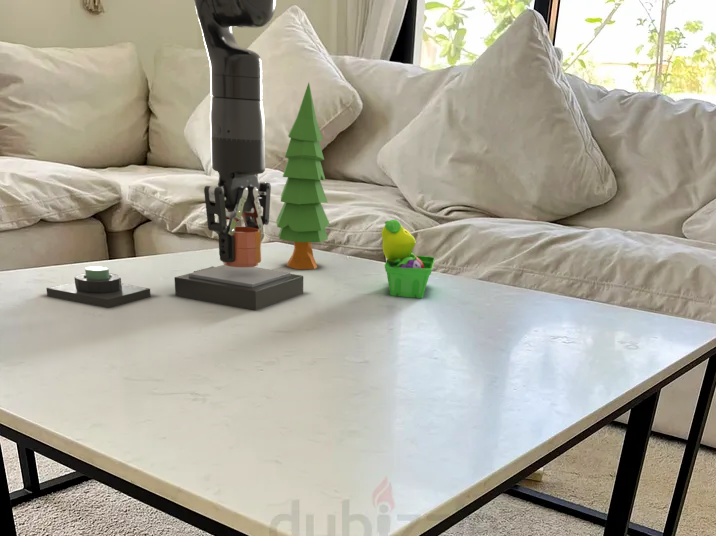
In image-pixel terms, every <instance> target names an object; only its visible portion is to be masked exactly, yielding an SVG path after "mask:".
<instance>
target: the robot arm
mask: <svg viewBox="0 0 716 536" xmlns="http://www.w3.org/2000/svg"><path fill="white" fill-rule="evenodd" d="M194 7H195V11H196V15H197V19H198V22H199V26H200V29H201V33H202V36H203V37H202V38H203V42H204V46H205V49H206V53H207V57H208V61H209V74H210V110H209V111H210V112H209V124H210V125H209V126H210V127H209V128H210V153H211V157H210V159H211V168H212V169H213V171H215V172H217V173H218V181H217V183H216V184H217V185H215V186H211V185H205V186H204V188H203V194H204V202H205V214H206V221H207V229H208V230H209V231H212V232H215V233H216V234H217V236H218V255H219V260H221V261H220V262H222V261H223V262H229V263H231V262H234V261H235V236H233V235H234V232H235V228H236V226H237V223H238V222H239V221H240V220H241V219H242V220H243V224H244V227H253V228H258V229H260V230H261V231H262V230H263V228H264V225H266V226H268V225H269V223H270V213H271V192H272V185H271V183H270V182H266V181H261V180H259V176H258V175H259V174H260V175H261V174H264V172H265V171H266V121H265V120H266V117H265V111H264V101H263V100H264V89H263V88H264V87H263V82H264V81H263V78H264V77H263V76H264V72H263V62H262V58H261V56H260V54H259V53H257V52H256V51H253V50H251V49H248V48H246V47H242V46H240V45H239V44H238V42H237V40H236V37H235V34H234V31H233V28H241V29H242V28H244V29H245V28H246V29H259V28H263V27H265V26H266V25H268V24H269V23H270V22H271V21H272V20H273V17H274V15H275V12H276V7H277V0H194ZM261 214H262V215H261ZM216 216H217V221H216V218H215V217H216ZM227 221H228V223H227ZM223 262H222V263H223Z"/></svg>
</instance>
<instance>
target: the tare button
mask: <svg viewBox="0 0 716 536" xmlns="http://www.w3.org/2000/svg"><path fill="white" fill-rule="evenodd" d="M84 272H85V273H86V279H91V280H105V279H110V276H109V273H110V268H109V267H106V266H101V265H100V266H97V265H96V266H95V265H94V266H87V267H85V268H84Z"/></svg>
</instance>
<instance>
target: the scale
mask: <svg viewBox="0 0 716 536" xmlns="http://www.w3.org/2000/svg"><path fill="white" fill-rule="evenodd" d="M173 279H174V292H175V293H174V294H175V297H178V298H185V299H189V300H190V299H191V300H195V301H201V302H207V303H211V304H217V305H222V306H229V307H233V308H234V307H235V308H239V309H246V310H250V311H258V310H262V309H265V308H267V307H270V306H273V305H275V304H279V303H281V302H283V301H287V300H290V299H292V298H295V297H298V296H301V295H303V294H304V275H300V274H294V273H291V272H288V271H283V270H276V269H271V268H270V269H269V268H264V267H258V266H255V267H231V266H227V265H224V264H222V265H217V266H209V267H206V268H202V269H201V268H200V269H198V270H194V271H192V272H189V273H186V274H182V275H177V276H174V278H173Z"/></svg>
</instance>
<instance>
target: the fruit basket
mask: <svg viewBox="0 0 716 536" xmlns="http://www.w3.org/2000/svg"><path fill="white" fill-rule="evenodd" d="M381 238H382V252H383V255H384V257H385V258H386V261H385V263H384V270H385V272H386V277H387V284H388V289H389V294H390V296H394V297H405V298H418V299H423V297H424V295H425V292H426V291H425V290H426V288H427V284H428V281H429V278H430V276H431V274H432V271H433V268H434V264H435V259H436V258H435V257H433V256H428V255H427V256H426V255H415V253H413V250H414V248H415V245H416V244H417V242H416V238H415V236H414V235H412V234H411V232H410V231H409V230H407V229H405V227H404V226H403V225H402V224H401V223H400V221H398V220H397V219H391V220H386V221H384V226H383V228H382V230H381Z"/></svg>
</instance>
